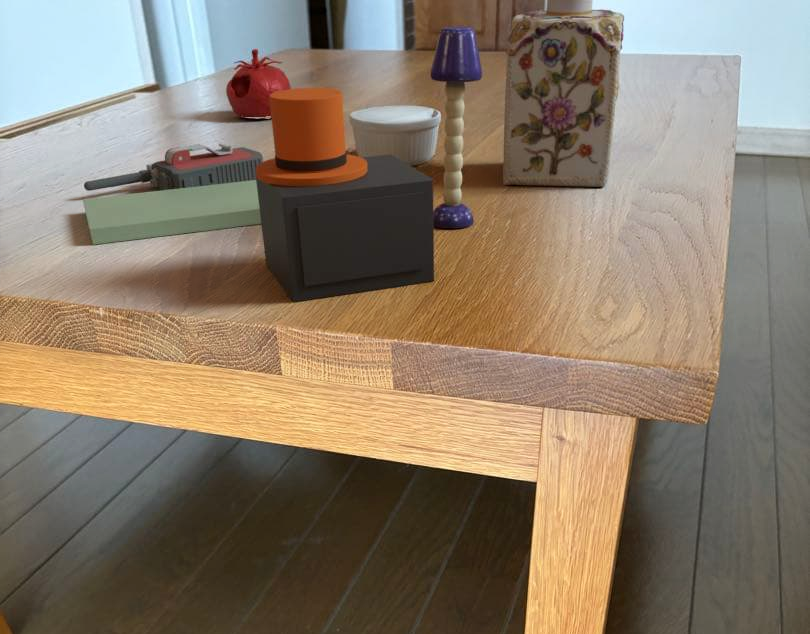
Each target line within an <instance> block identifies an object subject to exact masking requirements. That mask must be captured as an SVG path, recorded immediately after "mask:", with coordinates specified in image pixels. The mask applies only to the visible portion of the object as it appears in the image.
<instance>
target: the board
mask: <svg viewBox="0 0 810 634" xmlns="http://www.w3.org/2000/svg"><path fill="white" fill-rule="evenodd" d="M82 203H83V207H84V212H85V216H86V220H87V225H88V229H89V234H90V239H91V242H92V245H93V246H95V245H102V244H112V243H118V242H127V241H128V242H129V241H136V240H142V239H151V238H158V237H159V238H160V237H167V236H168V237H169V236H176V235H183V234H190V233H198V232H199V233H200V232H207V231H215V230H223V229H232V228H239V227H247V226H255V225H261V217H260V208H259V200H258V191H257V183H256V180H251V181H242V182H233V183H224V184H215V185H206V186H197V187H188V188H179V189H170V190H154V191H145V192H136V193H128V194H127V193H125V194H116V195H108V196H100V197H91V198H90V197H89V198H83V199H82Z"/></svg>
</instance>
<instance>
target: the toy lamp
mask: <svg viewBox="0 0 810 634" xmlns="http://www.w3.org/2000/svg"><path fill="white" fill-rule="evenodd" d="M482 78H483V69H482V64H481V57H480V53H479V47H478V42H477V35H476V32H475V30H474V28H473V27H469V26H447V27H446V26H445V27H442V28H441V29H440V32H439V35H438V38H437V43H436V47H435V52H434V56H433V60H432V65H431V69H430V79H431V80H433V81H434V82H443V83H445V88H444V91H445V93H444V94H445V97H446V101H445V104H444V112H445V115H446V118H445V121H444V132H445V137H444V140H443V141H444V142H443V149H444V152H445V154H444V158H443V166H444V170H445V171H444V174H443V184H444V190H443V194H442V195H443V198H442V199H443V202H444V203H441V204H439V205H437V206H436V207H435V208H434V209H433V223H434V227H436V228H441V229H463V228H468V227H470V226H472V225H473V224H474V223H475V222H474V216H473V213H472V211H471V209H470V208H469V207H468V206H466V205H465V204H463V203H462V197H463V194H462V193H463V192H462V189H461V186H462V184H463V174H462V171H461V170H462V168H463V165H464V158H463V154H462V151H463V149H464V137H463V135H462V134H463V132H464V128H465V124H464V119H463V115H464V113H465V101H464V96H465V93H466V83H470V82H477V81H478V82H479V81H480V80H481V79H482Z"/></svg>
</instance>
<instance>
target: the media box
mask: <svg viewBox="0 0 810 634" xmlns="http://www.w3.org/2000/svg"><path fill="white" fill-rule="evenodd" d="M363 159H365V160H366V161H367V166H368V171H367V173H366V174H365V175H363V176H362V177H360V178H357V179H354V180H351V181H347V182H343V183H338V184H331V185H323V186H307V187H294V186H280V185H273V184H268V183H265V182H262V181H260V180H259V179H257V177H256V183H257V191H258V200H259V208H260V217H261V224H260V225H261V233H262V242H263V248H264V258H265V264H266V267H267V269H268V270H269V271H270V272H271V273H272V275H273V276H274V278H275V279H276V280H277V282H278V283H279V284H280V286H281V287H282V289H283V291H284V292H285V293H286V294H287V295H288V297H289V298H290V300H291V301H292V302H293V303H296V302H303V301H309V300H316V299H322V298H329V297H336V296H342V295H349V294H355V293H362V292H368V291H376V290H382V289H389V288H395V287H396V288H397V287H404V286H410V285H416V284H422V283H423V284H424V283H431V282H434V281H435V255H434V254H435V241H434V238H435V237H434V235H435V230H434V229H435V228H434V227H435V226H434V223H433V211H434V180H433V178H431V177H430V176H428V175H427V174H425V173H423V172H421V171H419V170H417V168H414V167H413V166H410V165H408V164H406V163H405V162H403V161H401V160H400V159H398V158H396V157H395V156H393V155H382V156H372V157H363ZM255 175H256V169H255Z"/></svg>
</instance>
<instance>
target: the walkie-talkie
mask: <svg viewBox="0 0 810 634" xmlns="http://www.w3.org/2000/svg"><path fill="white" fill-rule="evenodd" d="M218 147H221V148H218V149H213V148H211V147H209V146H207V145H204V144H201V143H196V144H190V145H184V146H183V147H182V146H178V147H172V148H169V149H168V150H167V151H166V152H165V154H164V159H163V160H160V161H159V160H158V161H155V162H153V163H148V164H146V169H142V170H139V171H138V172H132V173H125V174H121V175H115V176H109V177H105V178H98V179H93V180H88V181H85V182H84V184H83V188H84V190H86V191H88V192H90V191H91V192H92V191H97V190H103V189H108V188H115V187H121V186H125V185H132V184H137V183H142V184H144V183H149V184H150V186H151V188H156V189H157V190H158V191H161V190H170V189H179V188H188V187H197V186H206V185H215V184H224V183H233V182H242V181H251V180H256V175H255V168H256V166H257V165H258V164H260V163H262V162H264V156H263V154H262V152H260V151H257V150H254V149H251V148H247V147H245V146H241V147H234V148H233V146H232V145H229V144H226V143H223V142H220V143H218ZM202 150H206V151H207V152H206V153H205V152H204V153H199V154H194V155H191V152H195V151H202Z"/></svg>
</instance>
